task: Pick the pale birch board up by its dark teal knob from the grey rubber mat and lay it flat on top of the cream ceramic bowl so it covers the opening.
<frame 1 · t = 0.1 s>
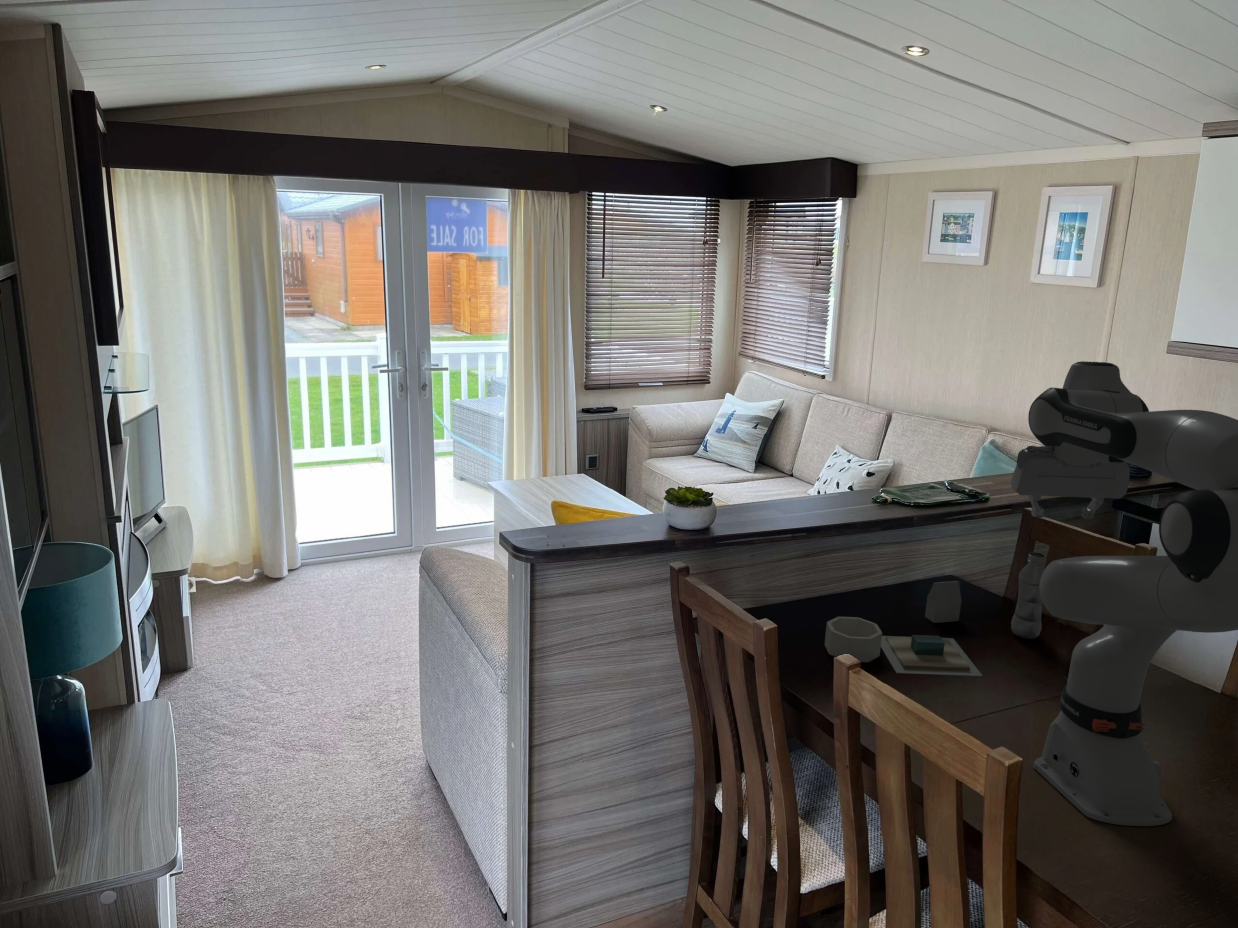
hand: (1061, 516, 171), 39 cm above the table, tool pointing down, fingers open, 8 cm apart
bowl: (851, 652, 200), on the table
plastic bottle: (1024, 636, 212), on the table
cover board: (926, 654, 199), point 1 cm above the table, touching mat
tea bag: (941, 621, 218), on the table
phone: (1099, 696, 186), on the table
mat: (925, 657, 199), on the table
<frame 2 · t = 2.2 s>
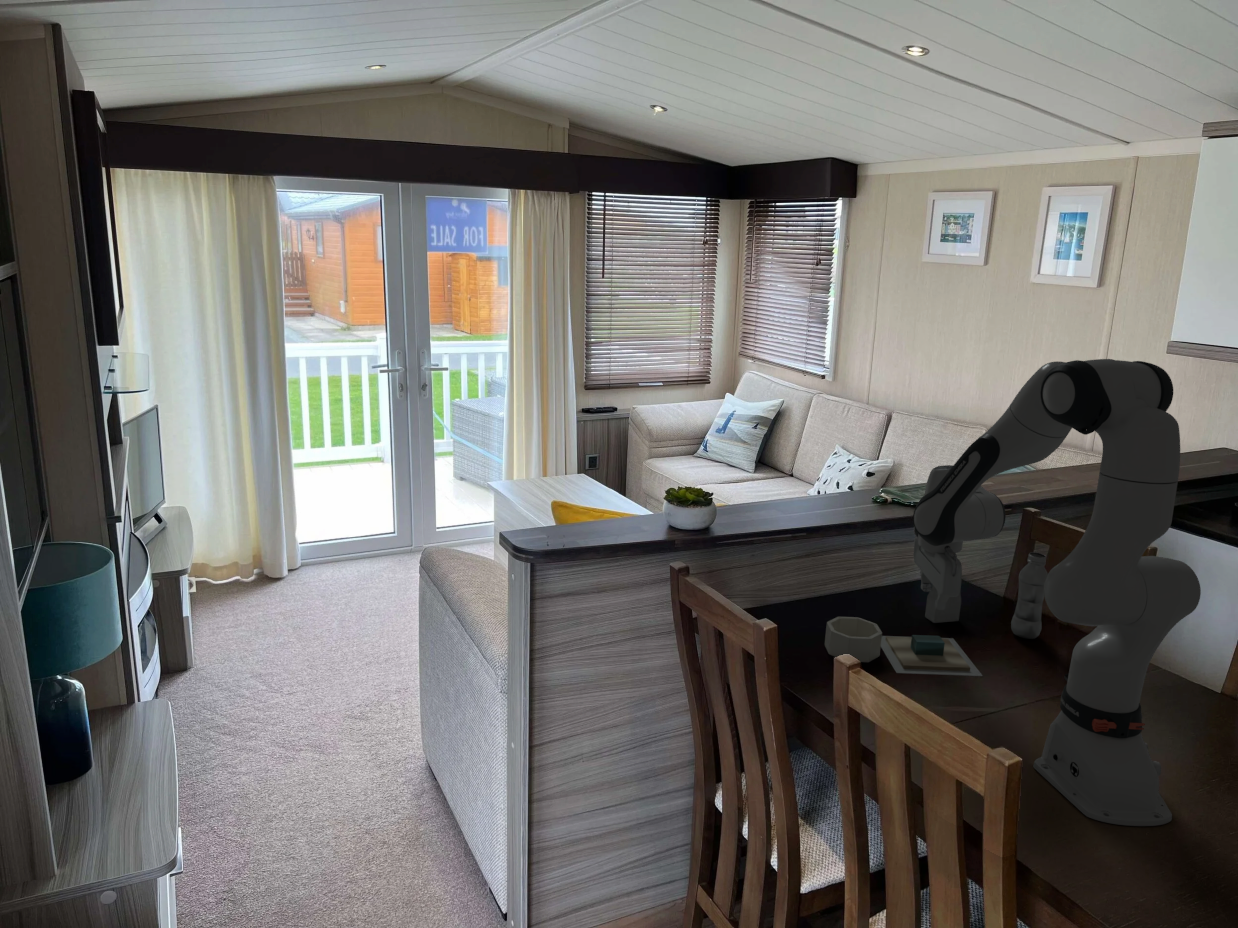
hand: (932, 599, 196), 13 cm above the table, tool pointing down, fingers open, 8 cm apart
nothing on the table moved.
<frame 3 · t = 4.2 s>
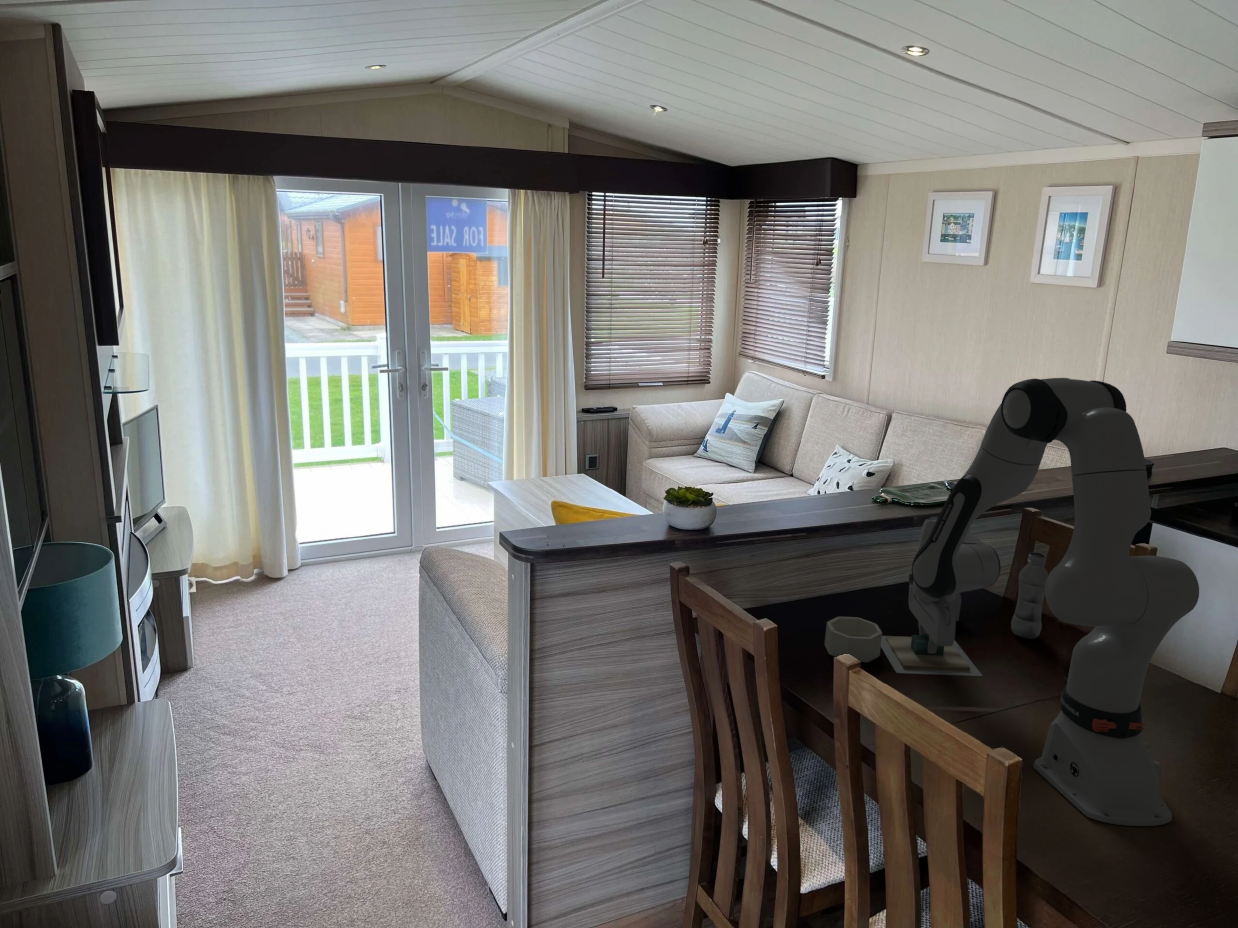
hand: (927, 646, 198), 3 cm above the table, tool pointing down, fingers closed on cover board, 3 cm apart
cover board: (926, 654, 199), point 1 cm above the table, touching gripper, mat
everything else where it was.
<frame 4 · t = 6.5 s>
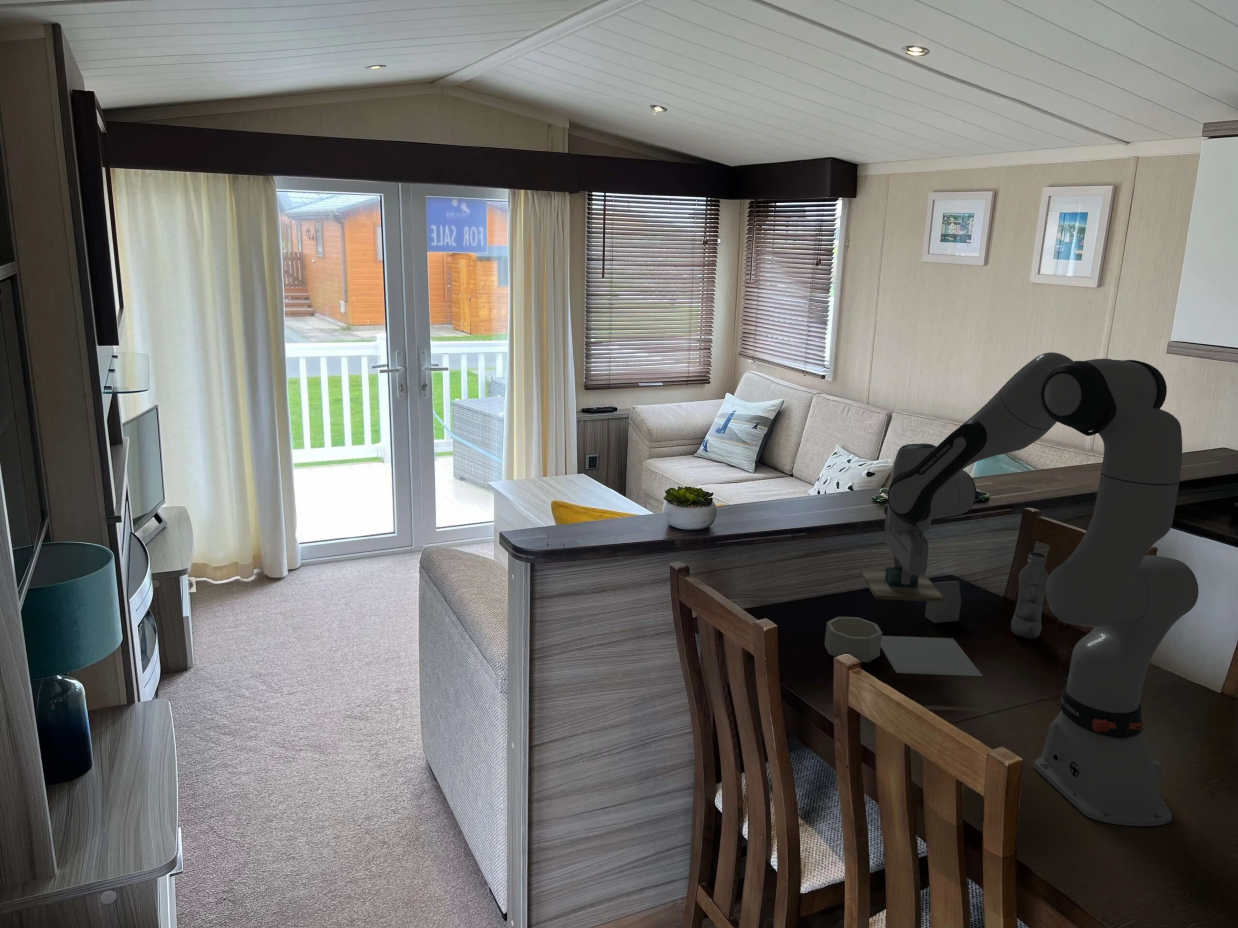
hand: (901, 578, 195), 18 cm above the table, tool pointing down, fingers closed on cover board, 3 cm apart
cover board: (900, 587, 196), point 16 cm above the table, touching gripper
everything else where it was.
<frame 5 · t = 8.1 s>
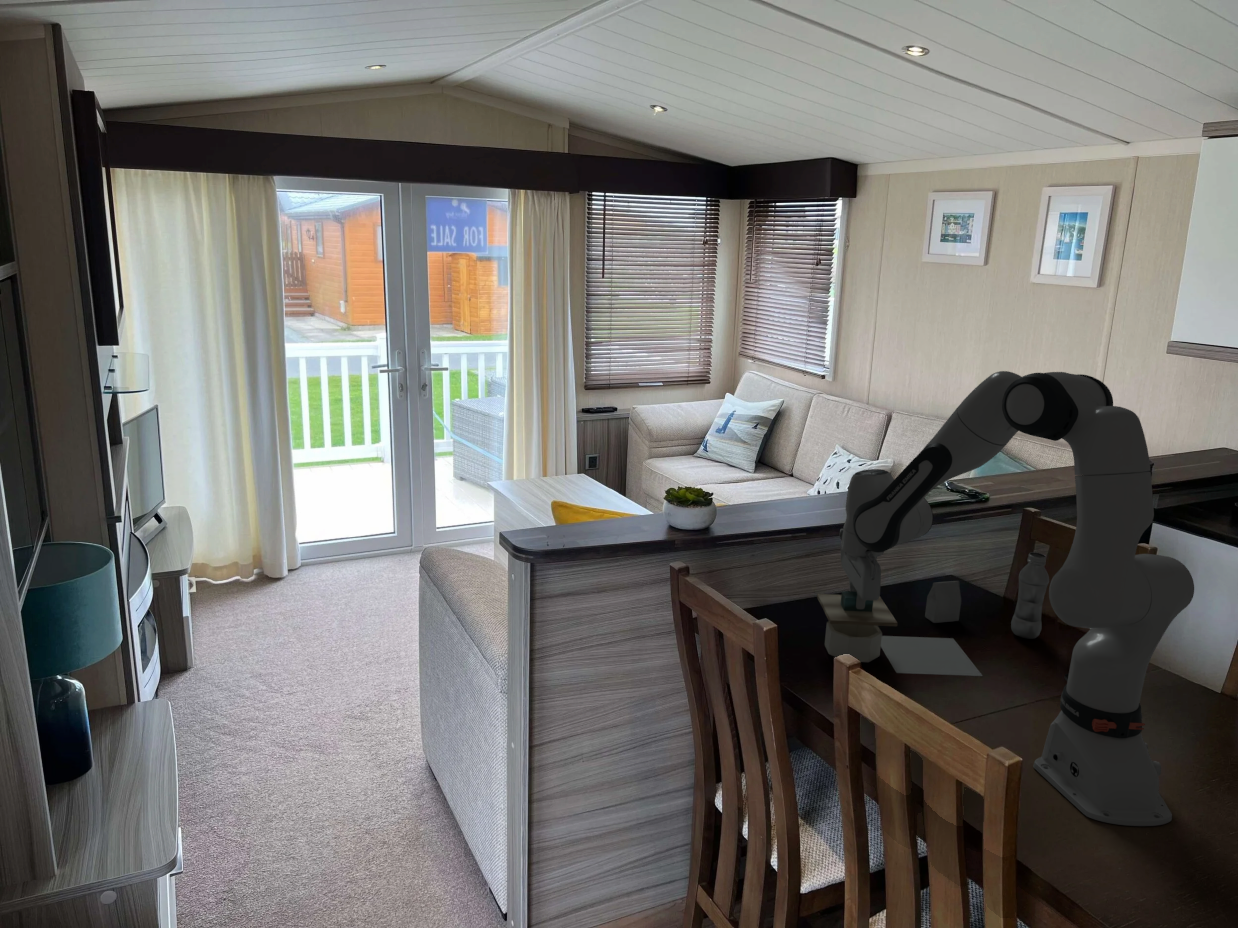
hand: (856, 603, 197), 12 cm above the table, tool pointing down, fingers closed on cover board, 3 cm apart
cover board: (855, 611, 198), point 10 cm above the table, touching gripper
everything else where it was.
when the fingers open (9 cm above the table, at t = 9.2 s): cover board drops 1 cm, resting on bowl.
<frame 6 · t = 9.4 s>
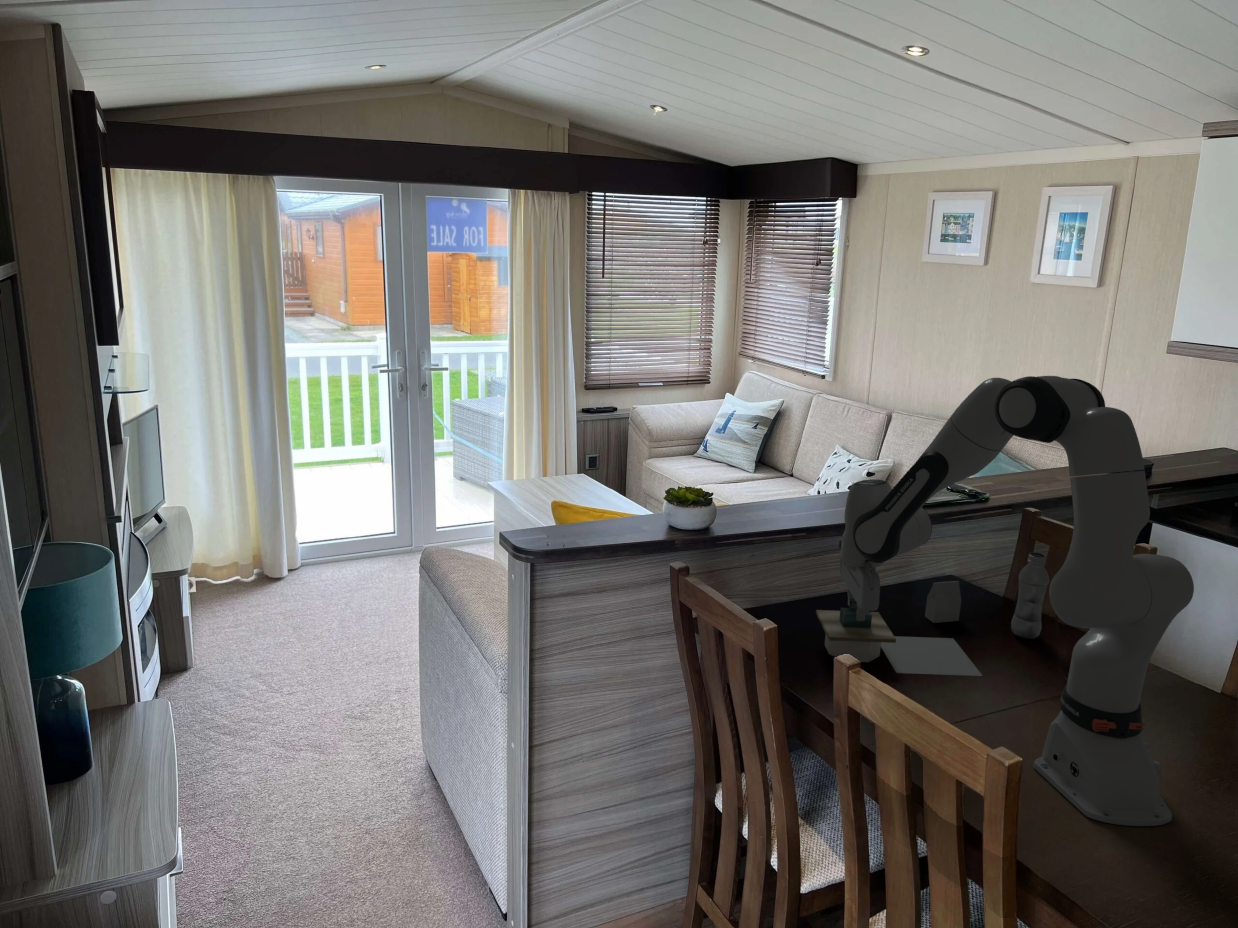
hand: (855, 613, 198), 9 cm above the table, tool pointing down, fingers open, 5 cm apart
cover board: (854, 627, 198), point 6 cm above the table, touching bowl
everything else where it was.
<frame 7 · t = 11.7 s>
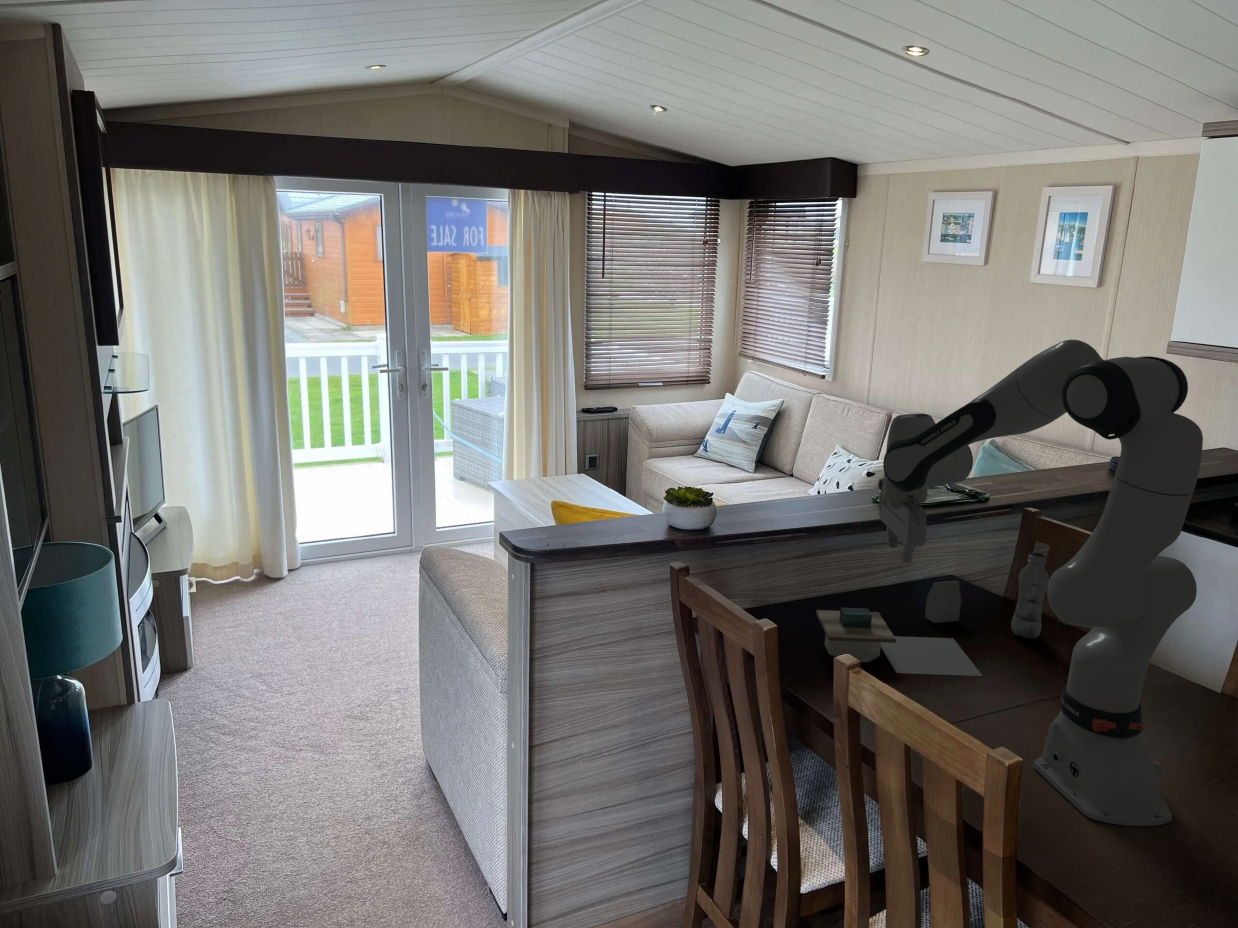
hand: (898, 553, 191), 24 cm above the table, tool pointing down, fingers open, 8 cm apart
nothing on the table moved.
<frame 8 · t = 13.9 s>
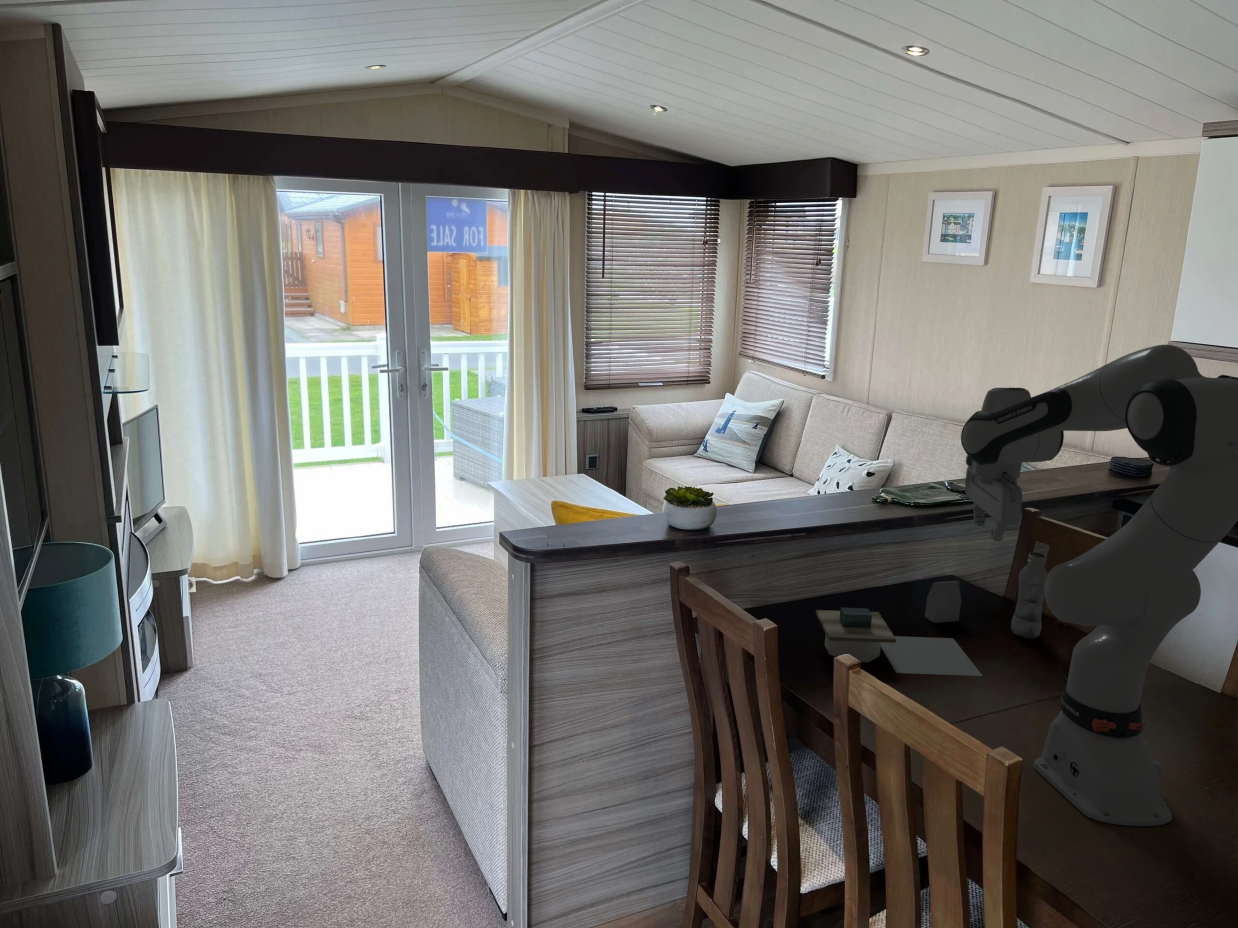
hand: (987, 532, 185), 31 cm above the table, tool pointing down, fingers open, 8 cm apart
nothing on the table moved.
at the end: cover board 0.1 cm off-centre on the bowl, point 6.0 cm above the bowl's base; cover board tilted 0°; the gripper is holding nothing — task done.
